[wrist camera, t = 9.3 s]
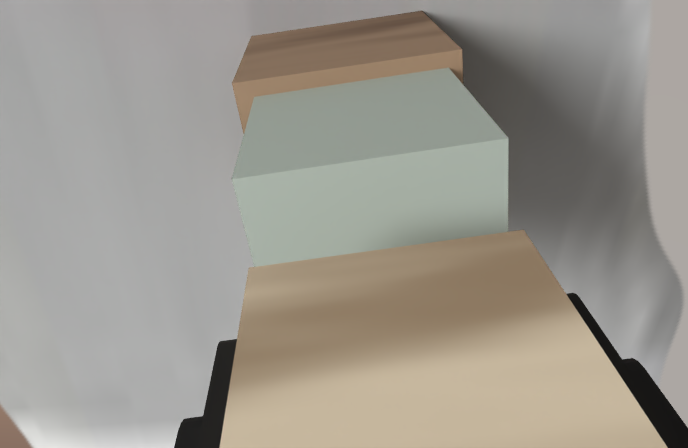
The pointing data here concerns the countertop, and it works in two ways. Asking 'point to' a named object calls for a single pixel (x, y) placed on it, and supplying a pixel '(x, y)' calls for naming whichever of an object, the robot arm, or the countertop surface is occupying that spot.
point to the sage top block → (369, 168)
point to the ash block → (424, 355)
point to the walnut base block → (342, 56)
